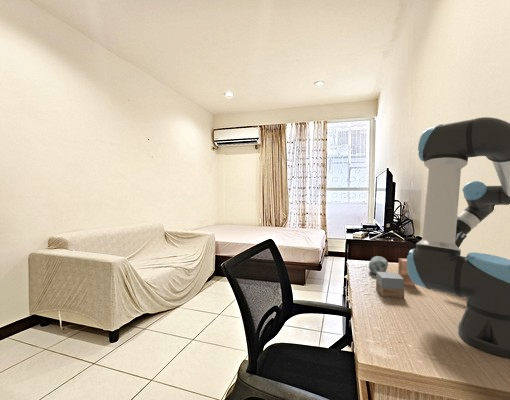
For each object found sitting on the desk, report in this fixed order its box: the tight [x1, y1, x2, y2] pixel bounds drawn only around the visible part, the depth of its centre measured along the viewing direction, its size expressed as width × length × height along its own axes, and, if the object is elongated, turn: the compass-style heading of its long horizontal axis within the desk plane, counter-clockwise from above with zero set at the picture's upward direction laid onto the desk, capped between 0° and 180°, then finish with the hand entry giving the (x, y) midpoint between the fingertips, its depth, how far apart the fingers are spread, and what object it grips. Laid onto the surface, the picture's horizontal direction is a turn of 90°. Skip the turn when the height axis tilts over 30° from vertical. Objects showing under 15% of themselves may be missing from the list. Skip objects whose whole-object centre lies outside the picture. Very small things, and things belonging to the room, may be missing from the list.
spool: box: [368, 255, 389, 275], centre depth 133 cm, size 14×10×10 cm
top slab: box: [375, 271, 405, 290], centre depth 105 cm, size 8×8×4 cm
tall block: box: [397, 257, 416, 287], centre depth 116 cm, size 5×5×11 cm
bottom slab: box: [375, 280, 405, 299], centre depth 105 cm, size 8×8×4 cm
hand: (426, 256), depth 116 cm, fingers open, 13 cm apart
